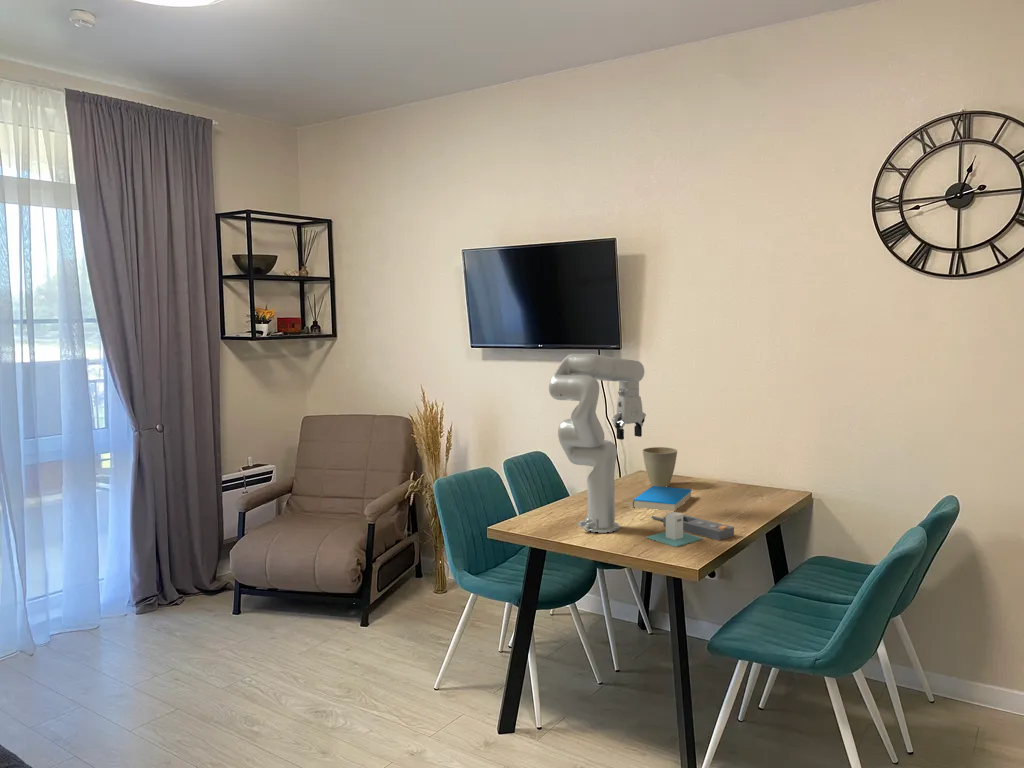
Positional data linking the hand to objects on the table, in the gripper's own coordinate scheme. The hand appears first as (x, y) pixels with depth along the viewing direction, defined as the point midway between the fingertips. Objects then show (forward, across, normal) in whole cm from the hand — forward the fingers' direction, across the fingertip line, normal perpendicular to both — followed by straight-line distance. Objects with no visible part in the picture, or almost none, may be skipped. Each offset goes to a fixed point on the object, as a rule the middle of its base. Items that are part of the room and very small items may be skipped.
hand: (629, 437), depth 286 cm
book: (+29, +19, 0) cm, 35 cm away
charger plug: (+28, -15, -35) cm, 47 cm away
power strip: (+28, -2, -29) cm, 41 cm away
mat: (+28, -16, -35) cm, 48 cm away
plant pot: (+28, +40, +20) cm, 53 cm away
